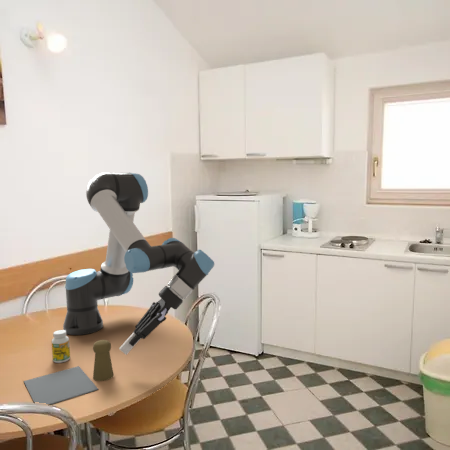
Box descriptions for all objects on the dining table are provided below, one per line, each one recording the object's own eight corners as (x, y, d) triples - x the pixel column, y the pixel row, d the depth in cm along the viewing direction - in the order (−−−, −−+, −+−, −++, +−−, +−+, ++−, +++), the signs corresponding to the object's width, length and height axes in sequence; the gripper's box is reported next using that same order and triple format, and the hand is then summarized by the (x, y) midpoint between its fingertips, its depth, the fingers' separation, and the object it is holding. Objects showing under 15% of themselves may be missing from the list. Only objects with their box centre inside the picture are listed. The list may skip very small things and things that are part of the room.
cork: (107, 382, 118) (106, 346, 117) (89, 380, 120) (87, 344, 118) (117, 372, 124) (115, 338, 123) (99, 370, 125) (97, 336, 124)
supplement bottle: (71, 355, 137) (69, 328, 136) (68, 362, 132) (67, 334, 131) (54, 357, 136) (52, 329, 135) (51, 364, 131) (49, 335, 130)
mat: (23, 382, 119) (23, 381, 119) (78, 366, 128) (78, 365, 128) (37, 408, 104) (37, 407, 104) (98, 389, 114) (98, 388, 114)
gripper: (188, 305, 121) (134, 367, 118) (179, 294, 134) (129, 350, 130) (170, 290, 119) (114, 352, 115) (162, 280, 131) (112, 336, 128)
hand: (122, 351), depth 123 cm, fingers closed
